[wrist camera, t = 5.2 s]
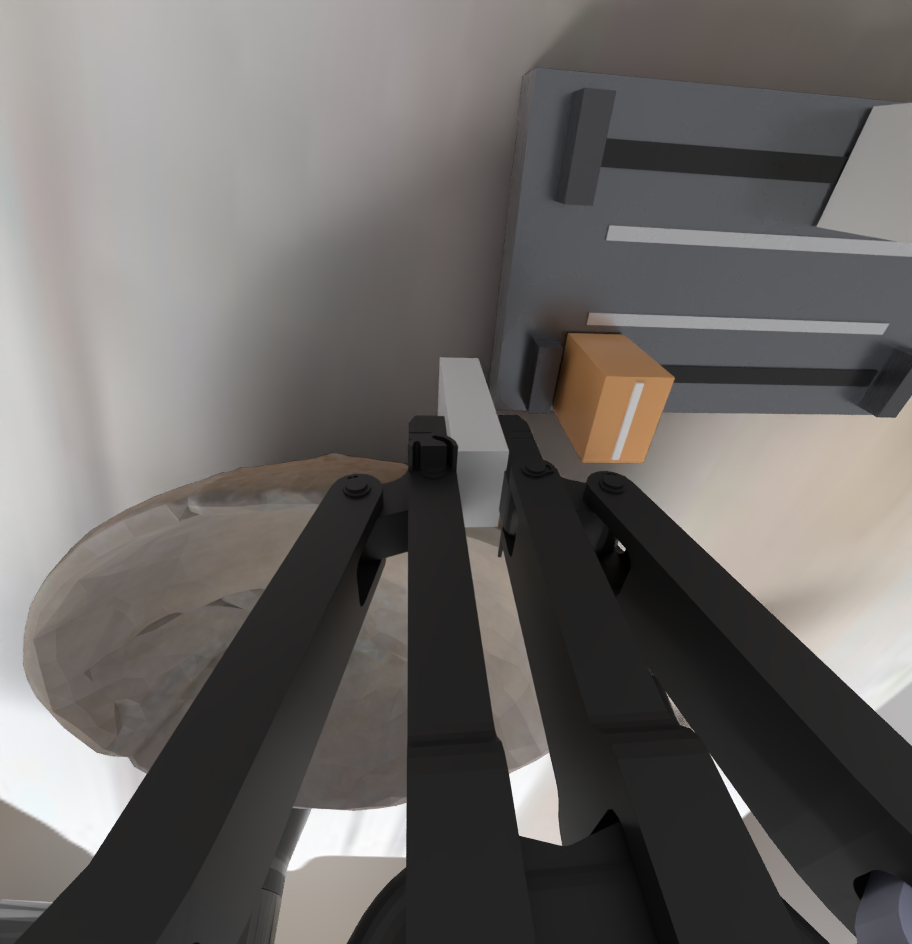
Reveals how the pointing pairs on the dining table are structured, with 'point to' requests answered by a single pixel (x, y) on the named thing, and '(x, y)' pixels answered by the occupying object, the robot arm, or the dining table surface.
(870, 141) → the white fader
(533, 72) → the panel
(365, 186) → the dining table surface
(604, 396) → the orange fader
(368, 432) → the dining table surface
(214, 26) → the dining table surface
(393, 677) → the bowl
